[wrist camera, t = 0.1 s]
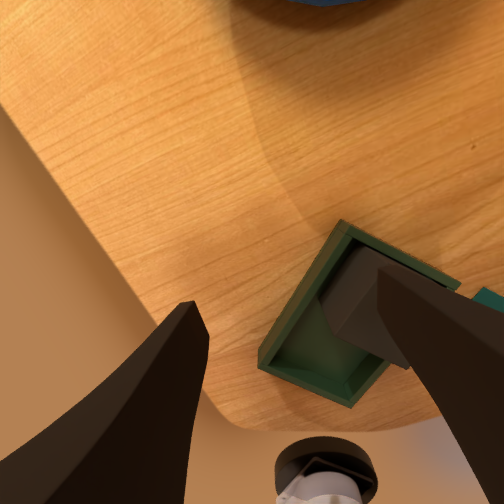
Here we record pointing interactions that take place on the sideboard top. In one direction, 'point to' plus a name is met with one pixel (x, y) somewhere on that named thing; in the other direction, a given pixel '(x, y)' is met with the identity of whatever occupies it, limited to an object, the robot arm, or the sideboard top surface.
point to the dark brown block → (361, 303)
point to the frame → (319, 332)
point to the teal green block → (490, 299)
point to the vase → (325, 2)
